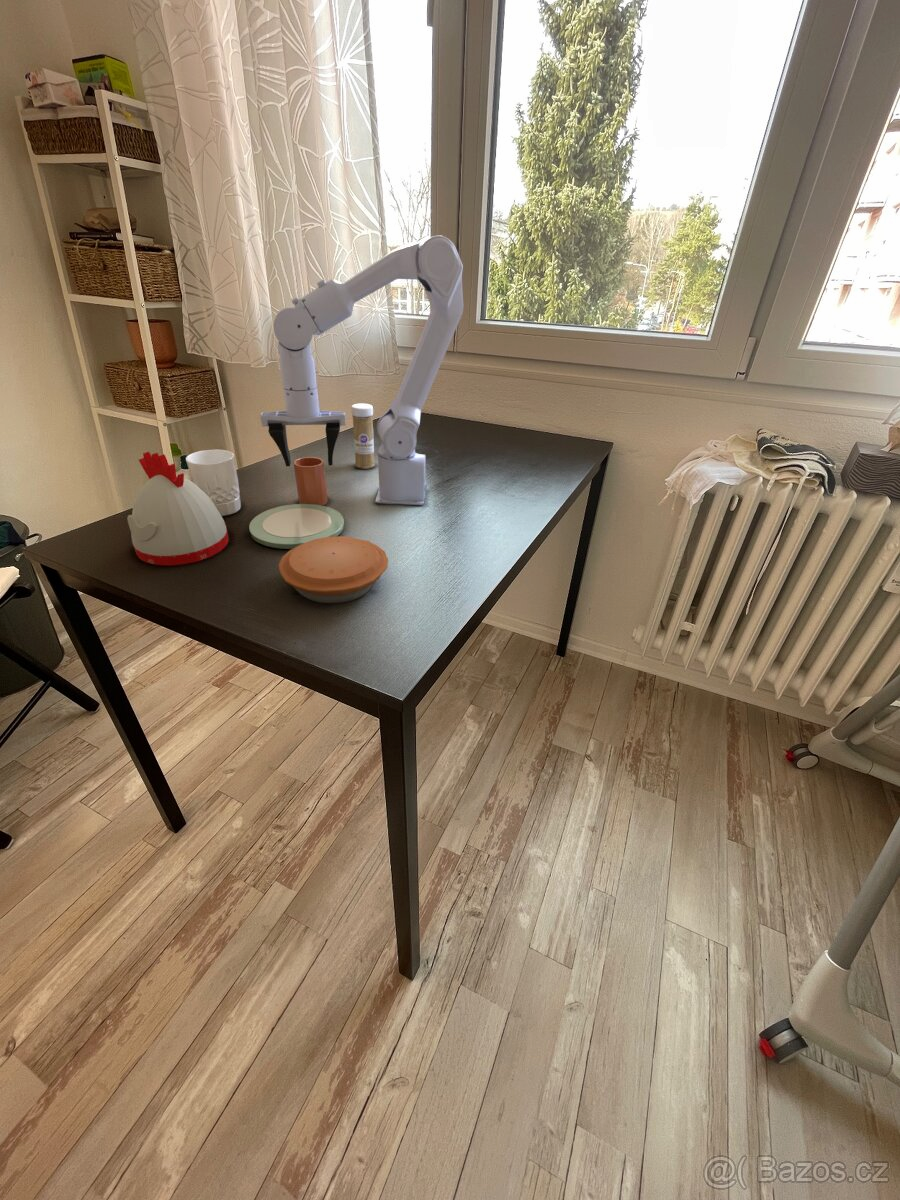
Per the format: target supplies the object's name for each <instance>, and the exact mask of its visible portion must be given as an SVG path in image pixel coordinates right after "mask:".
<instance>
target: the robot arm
mask: <svg viewBox="0 0 900 1200" xmlns="http://www.w3.org/2000/svg"><path fill="white" fill-rule="evenodd" d="M463 269H464V265H463V262H462V260H461V257H460V255H459V253H458V250H457V248H456V245H455V244H454V242H453V241H452V240H451V239H449V238H448V237H447V236H443V235H432V236H429V235H427V236H426V235H425V236H422V237H419V238H418V239H416V241H414V242H409V243H406V244H404V245H402V246H400V247H399V246H398V247H397V248H395V249H393V250H391V251H389V252H388V253H386V254H385V255H383V256H382V257H380V258H379V259H377V260H376V261H374V262H373V263H371V264H369V266H367V267H366V268H364V269H363V270H361V271H359V272H357V274H355V275H354V276H352V277H351V278H349V279H348V280H346V281H344V282H341V281H340V280H339V281H338V280H336V279H334V278H333V279H332V278H331V279H329V280H328V281H326V280H325V279H324V278H322V279H321V280H319V281H318V282H317V283H316V285H317V288H315V289H313V290H311V291H310V292H309V293H307V294H305V295H304V296H302V297H301V298H298V296H295V297H294V298H292V299H291V303H292V304H293V306H289V305H288V306H285V307H282V308H281V309H280V310H279V311H278V312H277V314H276V315H275V318H274V320H273V332H274V336H275V337H276V339H277V341H278V342H277V343H278V345H277V352H278V354H279V358H278V363H279V370H280V375H281V385H282V390H283V398H284V404H285V410H279V411H266V412H261V413H260V415H259V417H260V422H261V427H268V429H267V432H268V434H269V436H270V437H271V439H272V440H273V441H274V443H275V445H276V446H277V448H278V450H279V452H280V453H281V456H282V457H283V458H282V459H283V460H284V464H285V467H291V463H292V461H291V454H290V450H289V445H288V444H289V443H288V435H287V426H325V437H326V446H327V463H328V466H333V464H334V463H333V457H334V450H335V446H336V443H337V440H338V438H339V435H340V431H341V426H343V427H344V426H347V419H346V411H334V410H332V411H330V410H322V409H321V410H320V402H319V393H318V384H317V374H316V373H317V372H316V365H315V364H316V363H315V358H314V357H313V353H312V352H313V351H312V344H311V342H312V339H313V336H314V335H316V336H321V335H322V334H324V333H325V332H327V331H328V330H329V331H330V330H331V329H332V328H334V327H335V326H337V325H338V324H340V323H343V321H346V320H347V319H349V318H350V317H351V316H352V315H353V310H354V305H355V304H356V303H357V302H359V301H361V300H362V299H365V298H366V297H369V296H370V295H371V294H373V293H374V292H377V291H379V290H381V288H384V287H386V286H387V285H389V284H391V283H393V282H394V281H396V280H418V281H419V283H420V284H421V285H422V287H423V289H424V292H425V294H426V297H427V299H428V302H429V305H430V308H431V309H430V312H429V314H428V317H427V320H426V322H425V324H424V327H423V330H422V331H421V334H420V337H419V340H418V342H417V344H416V347H415V350H414V352H413V355H412V357H411V359H410V362H409V364H408V366H407V369H406V372H405V375H404V377H403V380H402V382H401V383H400V387H399V390H398V392H397V395H396V397H395V398H394V399H393V400H392V401H391V402H390V404H389V406H388V409H387V410H386V412H384V414H382V416H380V417H379V419H378V421H377V423H376V432H377V435H378V438H379V440H381V444H380V446H379V448H378V449H377V466H378V467H377V468H378V491H377V494H376V497H375V503H376V504H388V505H414V506H423V505H424V503H425V496H426V492H427V486H428V483H427V482H426V472H427V471H426V463H427V462H426V461H427V459H426V458H427V457H426V454H422V453H417V452H416V447H417V441H418V440H417V433H418V430H419V428H420V425H421V424H420V423H421V415H422V409H423V408H424V404H425V403H426V400H427V397H428V395H429V394H430V391H431V388H432V385H433V383H434V381H435V379H436V376H437V374H438V371H439V370H440V366H441V365H442V362H443V360H444V358H445V355H446V353H447V351H448V348H449V346H450V344H451V341H452V339H453V337H454V334H455V332H456V330H457V327H458V325H459V323H460V321H461V318H462V316H463V312H464V295H463Z"/></svg>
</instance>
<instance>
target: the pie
mask: <svg viewBox="0 0 900 1200" xmlns="http://www.w3.org/2000/svg"><path fill="white" fill-rule="evenodd" d="M388 566H389V559H388V556H387V553H386V551H385V550H384V549H383V548H382V547H380V546H379V545H378V544H376V543H373V542H371V541H369V540H366V539H360V538H355V537H352V536H339V535H338V536H335V537H324V538H319V539H315V540H312V541H309V542H306V543H304V544H301V545H299V546H297V547H295V548H294V549H289V550H288V551H287V552H286V553H285V554H284V555H283V556H282V557H281V559H280V561H279V563H278V570H279V574H280V575H281V577H282V579H283V580H284V581H285V583H287V584H288V585H290V586H291V587H293V588H294V589H295V591H297V592H298V593H299V594H300V595H301V596H303V597H304V598H306V599H308V600H310V601H313V602H316V603H321V604H342V603H347V602H351V601H355V600H356V599H359V598H361V597H363V596H365V595H366V594H367V593H369V592H370V591H371V589H372V588H373V586H374V585H375V584H376V582H377V581H378V580H379V579H380V577H381V576H382V575H383V573H384V572H385V571H386V570H387V569H388Z"/></svg>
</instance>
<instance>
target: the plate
mask: <svg viewBox="0 0 900 1200" xmlns="http://www.w3.org/2000/svg"><path fill="white" fill-rule="evenodd" d="M344 529H345V519H344V516H343V515H342V514H341V513H340V512H339V511H338V510H336V509H334V508H332V507H329V506H325V505H323V506H321V505H315V504H300V503H295V504H286V505H280V506H277V507H273V508H270V509H267V510H265V511H263V512H261V513H259V514H258V515H256V516H254V517H253V519H252V520H251V521H250V522H249V526H248V530H249V534H250V537H251V538H252V539H253V540H254V541H255V542H256V543H258V544H260V545H263V546H265V547H270V548H275V549H282V550H283V549H284V550H292V549H294V548H295V547H297V546H299V545H301V544H304V543H306V542H309V541H312V540H315V539H319V538H324V537H335V536H339V535H340V534H341V533H342V532H343V531H344Z"/></svg>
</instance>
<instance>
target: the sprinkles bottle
mask: <svg viewBox="0 0 900 1200" xmlns="http://www.w3.org/2000/svg"><path fill="white" fill-rule="evenodd" d="M350 407H351V409H350V410H351V417H352V426H353V428H352V429H353V432H352V433H353V445H354V459H355V464H354V466H355V467H356V468H358V469H363V470H368V469H372V468H374V467H375V466H376V463H375V443H374V439H375V438H374V425H373V424H374V423H373V417H374V408H373V405H372V404H369V403H364V402H363V403H362V402H361V403H354V404H352V405H351V406H350Z"/></svg>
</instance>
